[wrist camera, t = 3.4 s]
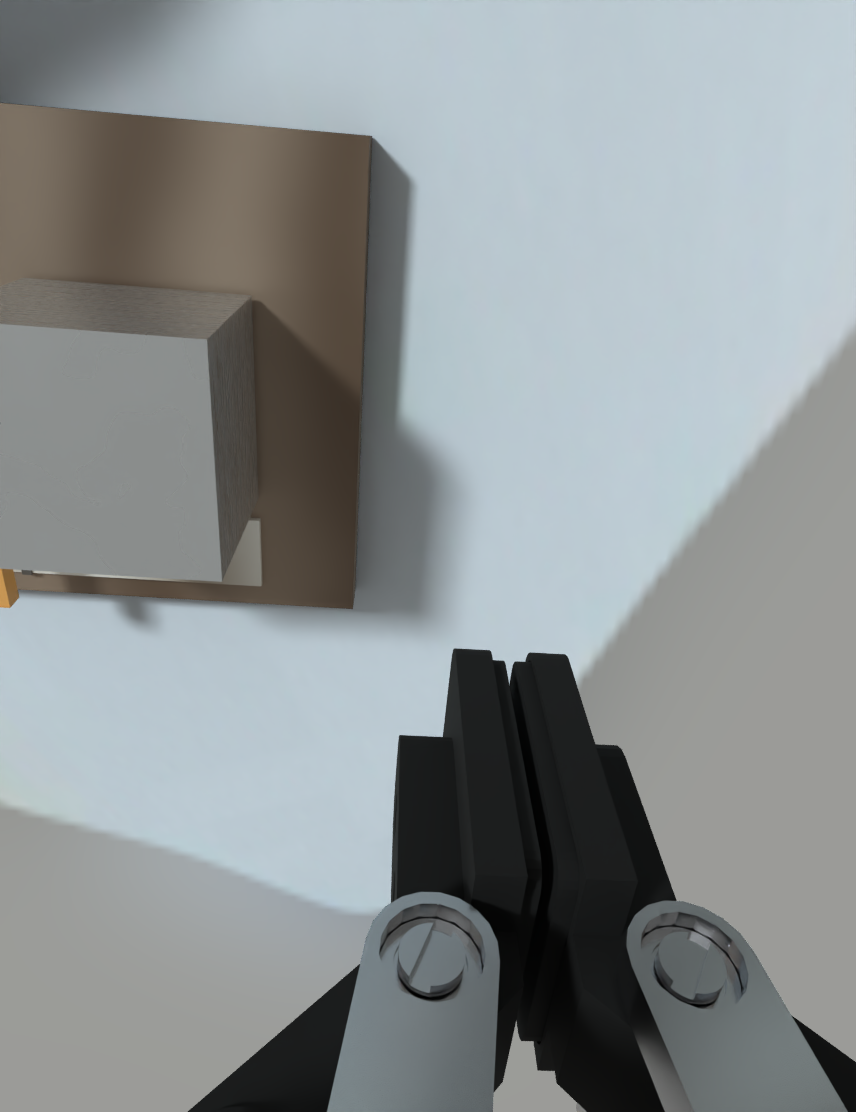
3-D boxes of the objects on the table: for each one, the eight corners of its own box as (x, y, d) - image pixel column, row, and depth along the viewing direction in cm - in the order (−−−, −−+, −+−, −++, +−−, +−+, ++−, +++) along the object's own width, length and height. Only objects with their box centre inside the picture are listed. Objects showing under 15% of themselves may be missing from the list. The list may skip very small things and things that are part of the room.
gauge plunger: (251, 295, 20) (207, 339, 16) (258, 497, 23) (222, 581, 19) (-152, 263, 20) (-312, 300, 16) (-94, 474, 23) (-215, 555, 18)
